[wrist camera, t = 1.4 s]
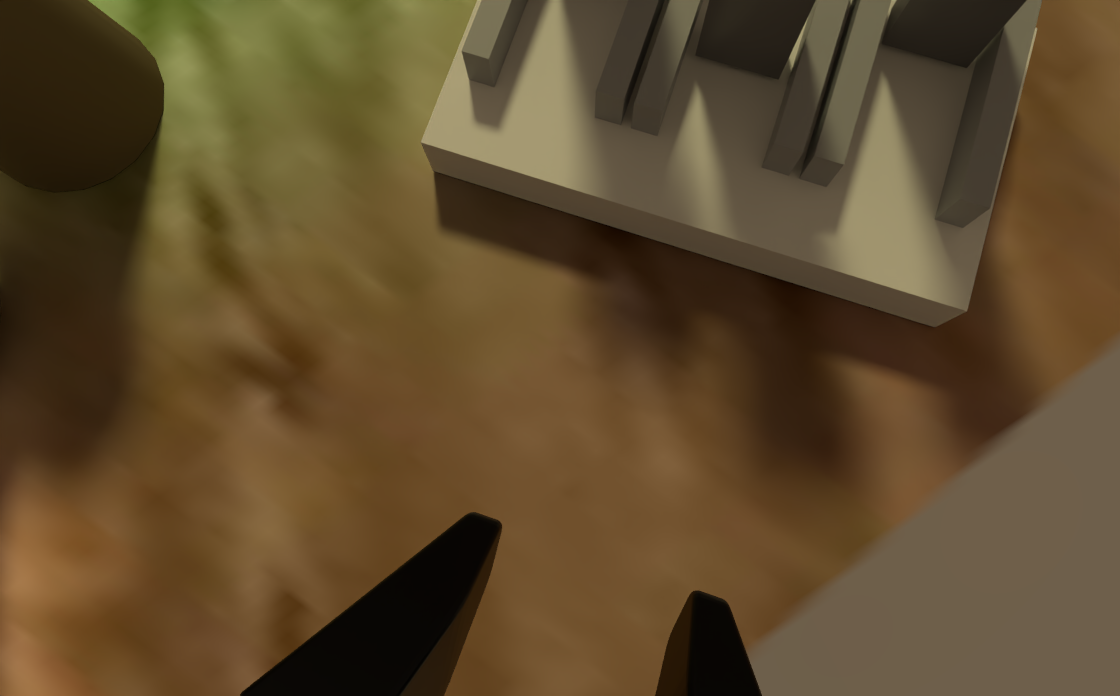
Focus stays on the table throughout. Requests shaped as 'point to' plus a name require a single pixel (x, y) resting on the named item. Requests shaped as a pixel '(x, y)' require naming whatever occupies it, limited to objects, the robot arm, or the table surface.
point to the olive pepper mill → (72, 94)
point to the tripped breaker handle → (753, 33)
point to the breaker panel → (744, 140)
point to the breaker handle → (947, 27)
